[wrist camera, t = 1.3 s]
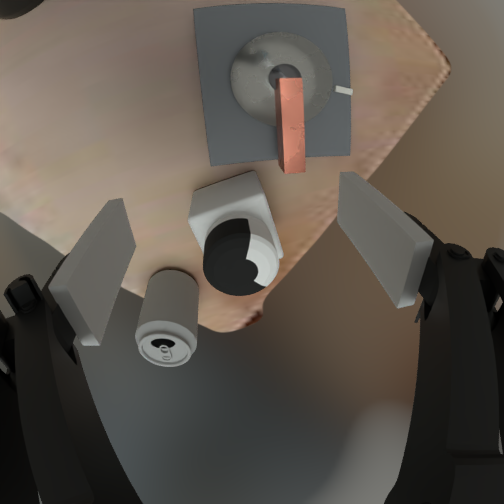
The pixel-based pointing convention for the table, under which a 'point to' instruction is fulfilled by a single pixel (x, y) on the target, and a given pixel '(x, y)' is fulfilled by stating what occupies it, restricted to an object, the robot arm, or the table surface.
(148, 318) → the can
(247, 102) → the dial
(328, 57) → the plate
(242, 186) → the container
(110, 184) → the table surface
